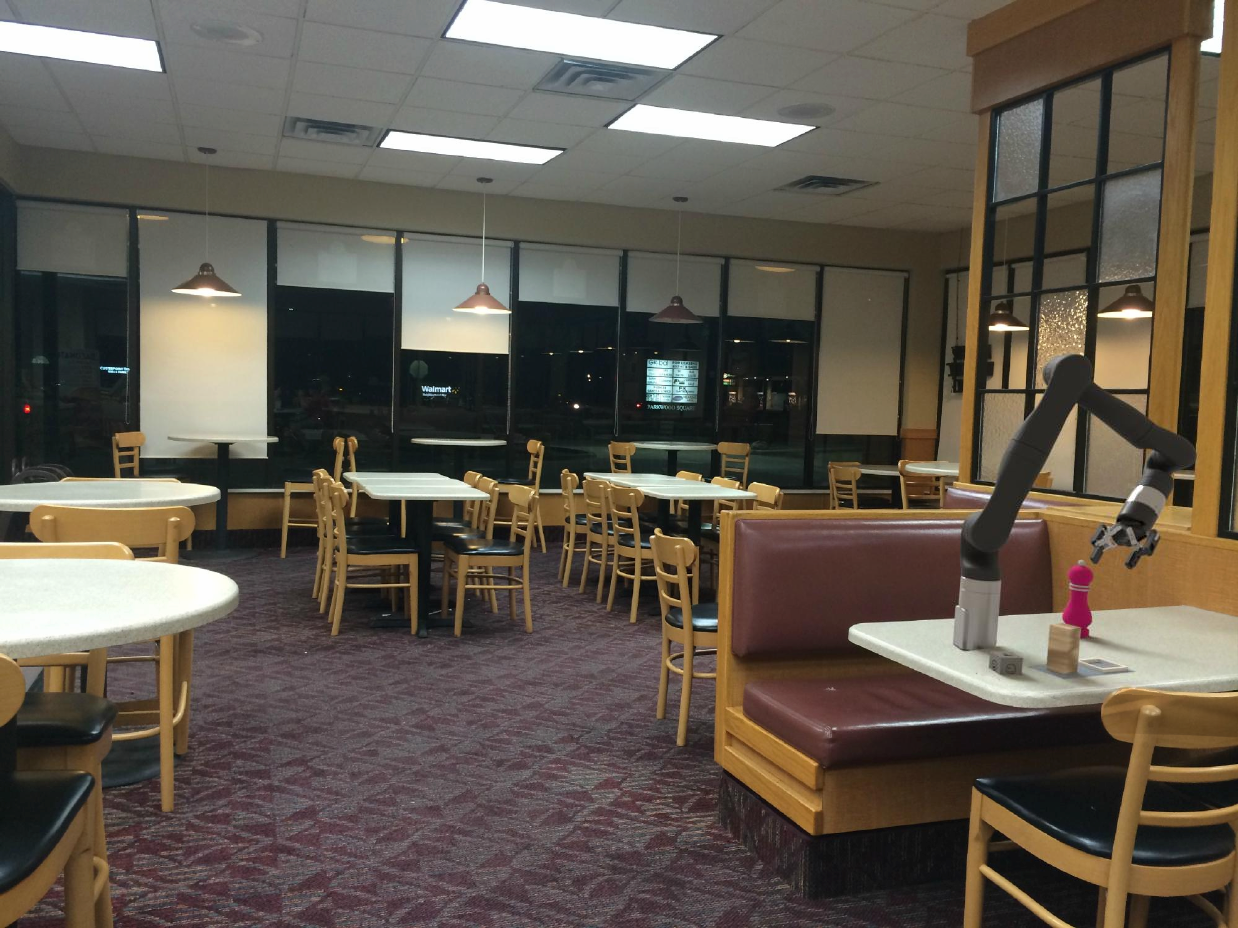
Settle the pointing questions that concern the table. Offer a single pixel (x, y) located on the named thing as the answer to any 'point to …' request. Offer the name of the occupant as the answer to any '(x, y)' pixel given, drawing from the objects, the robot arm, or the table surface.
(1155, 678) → the table surface
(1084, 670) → the building board
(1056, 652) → the wooden pillar
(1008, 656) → the dice cube
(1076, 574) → the pepper mill
